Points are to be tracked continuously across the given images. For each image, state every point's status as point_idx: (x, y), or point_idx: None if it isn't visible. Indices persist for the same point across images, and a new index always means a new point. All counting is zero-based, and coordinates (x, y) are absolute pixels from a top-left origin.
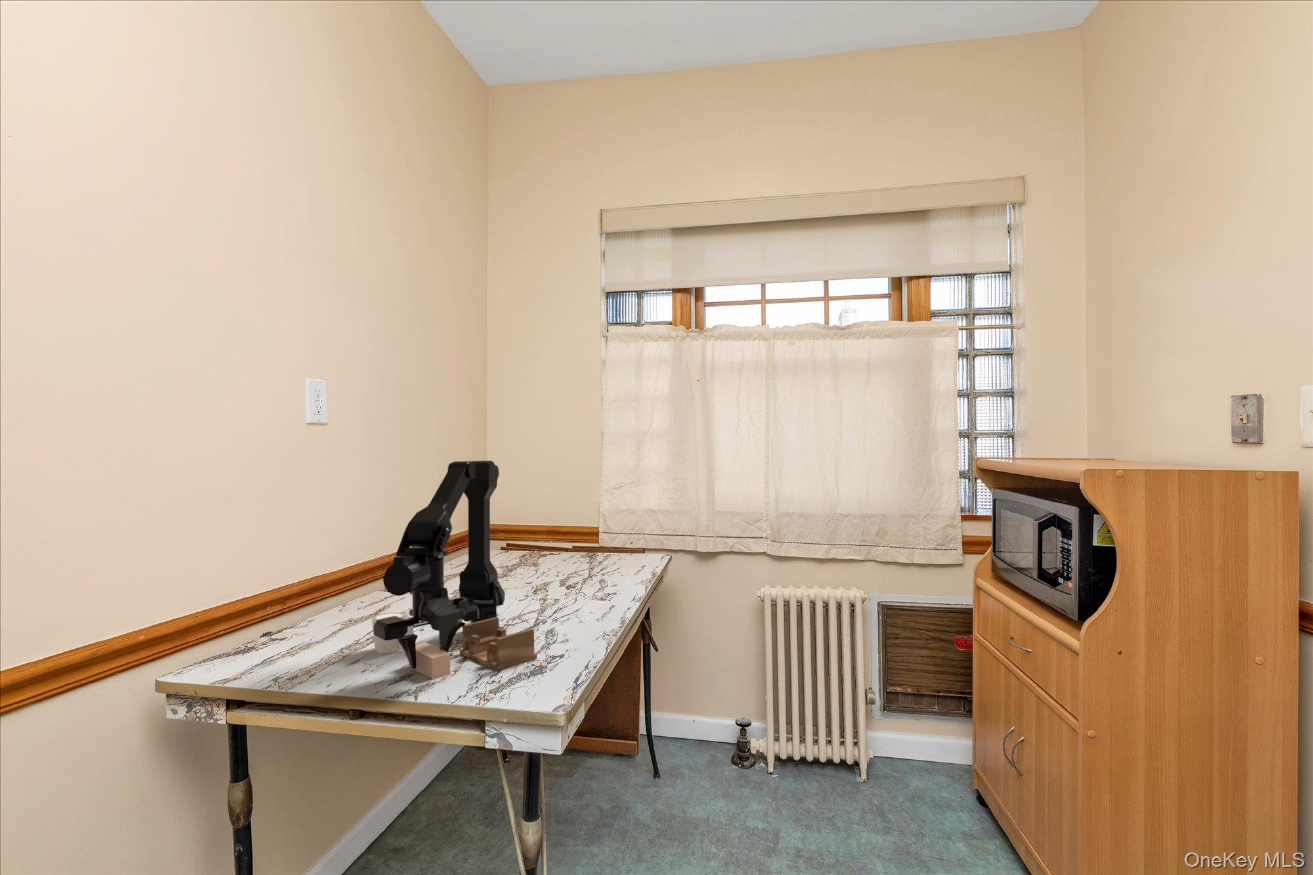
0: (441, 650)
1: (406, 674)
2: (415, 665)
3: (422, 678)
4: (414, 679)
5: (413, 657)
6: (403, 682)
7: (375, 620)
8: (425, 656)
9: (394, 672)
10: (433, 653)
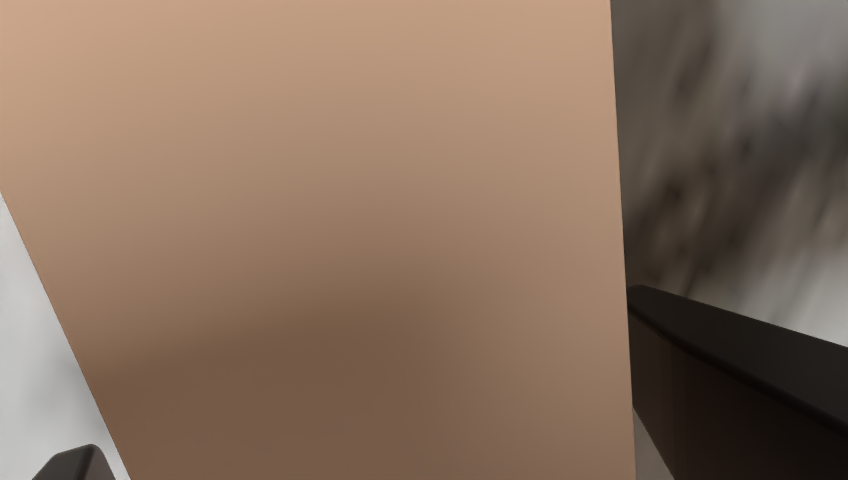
0: (160, 445)
1: None
2: (646, 304)
3: None
4: (656, 46)
5: (805, 352)
6: (812, 19)
7: None
8: (611, 270)
9: None
10: (419, 314)
